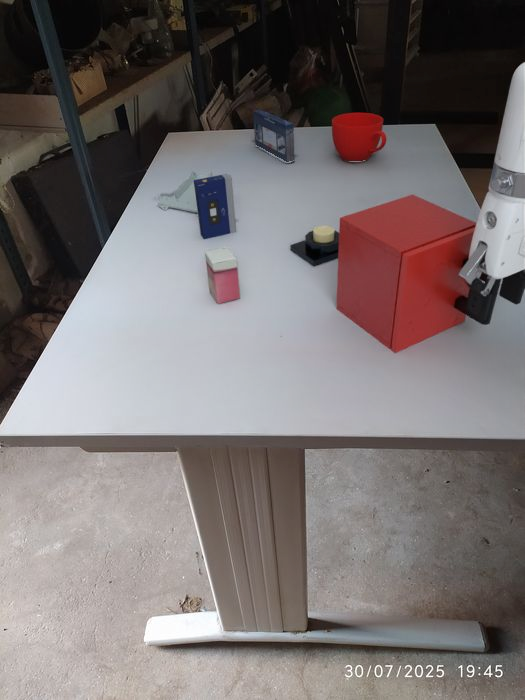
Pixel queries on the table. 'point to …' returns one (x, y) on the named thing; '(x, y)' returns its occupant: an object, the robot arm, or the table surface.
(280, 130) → the vhs cassette tape
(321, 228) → the yellow button cap
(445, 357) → the table surface
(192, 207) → the metal bracket
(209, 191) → the cassette player
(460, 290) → the door
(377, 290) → the cabinet
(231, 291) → the small box
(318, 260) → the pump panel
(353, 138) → the ceramic cup
